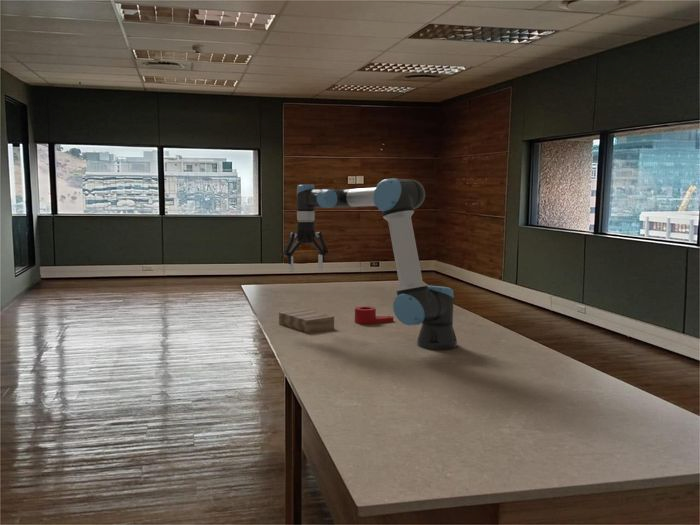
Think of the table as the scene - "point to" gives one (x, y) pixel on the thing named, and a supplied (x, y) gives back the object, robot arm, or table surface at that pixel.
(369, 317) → the lever
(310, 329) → the walnut base brick
